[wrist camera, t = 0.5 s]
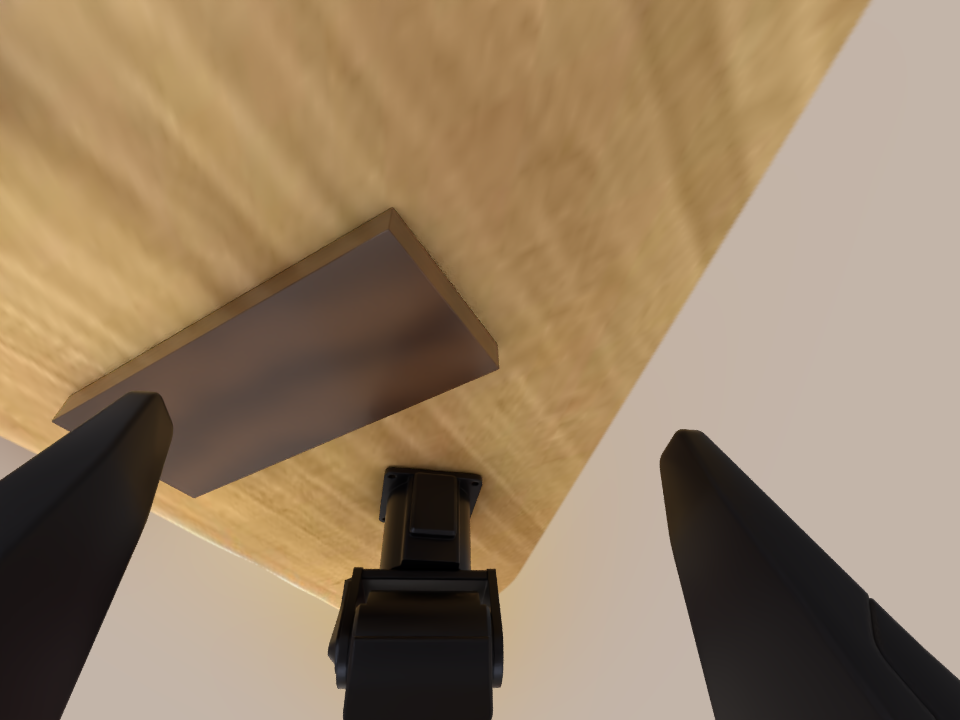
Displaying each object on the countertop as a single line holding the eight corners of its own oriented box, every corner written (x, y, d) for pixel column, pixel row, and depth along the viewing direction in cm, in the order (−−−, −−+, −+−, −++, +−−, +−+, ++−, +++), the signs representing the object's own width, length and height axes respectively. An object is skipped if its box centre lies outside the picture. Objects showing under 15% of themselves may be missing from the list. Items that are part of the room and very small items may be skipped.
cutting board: (498, 344, 27) (499, 369, 26) (204, 474, 34) (194, 498, 33) (393, 206, 21) (388, 228, 20) (69, 396, 29) (50, 421, 27)
